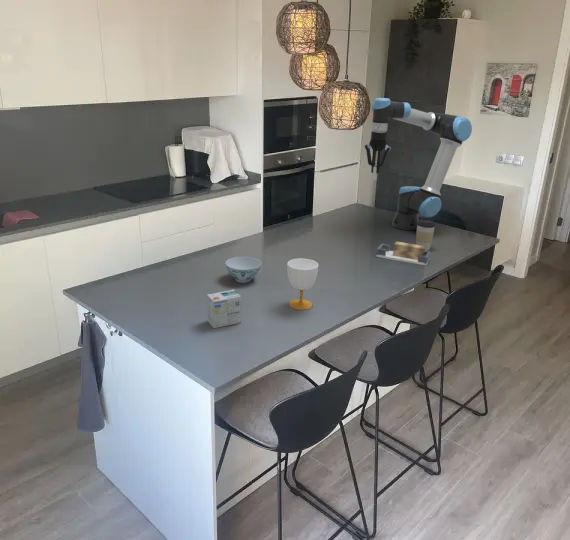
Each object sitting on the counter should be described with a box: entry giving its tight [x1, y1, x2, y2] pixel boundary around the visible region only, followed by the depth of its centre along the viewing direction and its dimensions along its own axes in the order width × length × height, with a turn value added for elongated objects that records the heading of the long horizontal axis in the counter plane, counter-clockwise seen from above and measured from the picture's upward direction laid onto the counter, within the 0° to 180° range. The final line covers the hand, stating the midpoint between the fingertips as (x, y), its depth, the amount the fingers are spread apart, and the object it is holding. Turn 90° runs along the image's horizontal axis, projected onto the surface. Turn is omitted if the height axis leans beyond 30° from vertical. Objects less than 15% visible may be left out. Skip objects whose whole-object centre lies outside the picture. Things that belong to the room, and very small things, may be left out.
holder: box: [375, 243, 432, 266], centre depth 259 cm, size 9×24×4 cm, turn 66°
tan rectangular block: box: [392, 241, 425, 260], centre depth 258 cm, size 14×4×6 cm, turn 66°
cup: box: [286, 258, 319, 311], centre depth 205 cm, size 12×12×17 cm
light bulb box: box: [206, 289, 242, 329], centre depth 191 cm, size 11×7×11 cm, turn 118°
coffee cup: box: [415, 217, 436, 252], centre depth 271 cm, size 9×9×15 cm
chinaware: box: [225, 256, 262, 284], centre depth 227 cm, size 15×15×8 cm
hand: (374, 179), depth 270 cm, fingers closed
